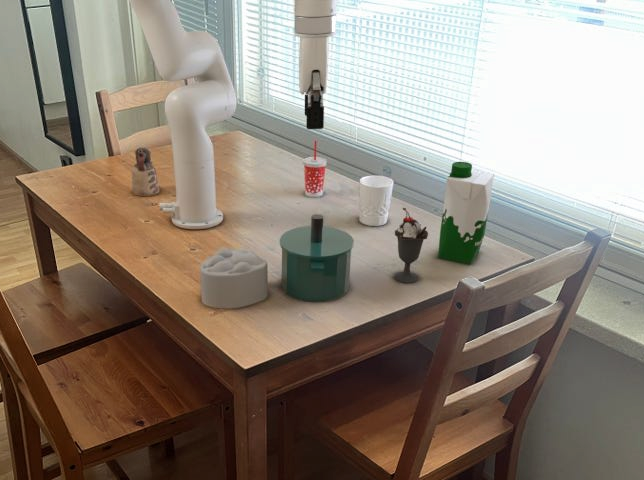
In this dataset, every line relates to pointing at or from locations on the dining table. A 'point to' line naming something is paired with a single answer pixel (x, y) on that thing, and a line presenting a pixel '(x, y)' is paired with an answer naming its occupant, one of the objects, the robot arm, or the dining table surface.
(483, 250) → the dining table surface
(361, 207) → the white cup
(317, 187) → the beverage cup
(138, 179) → the figurine
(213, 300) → the lumpy-topped squat cylinder
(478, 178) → the milk carton
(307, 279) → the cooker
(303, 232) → the lid
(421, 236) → the sundae
